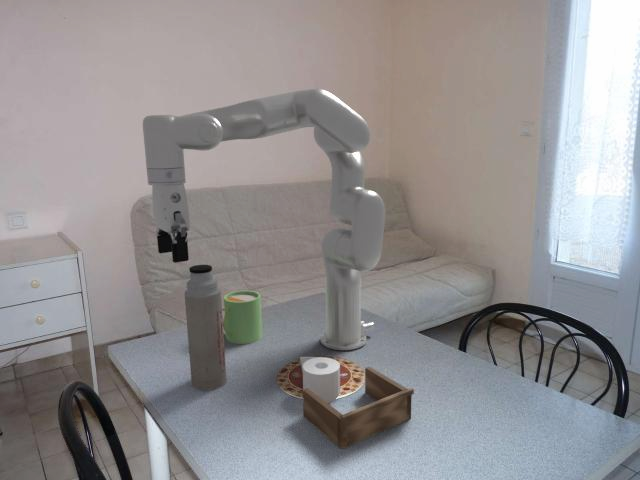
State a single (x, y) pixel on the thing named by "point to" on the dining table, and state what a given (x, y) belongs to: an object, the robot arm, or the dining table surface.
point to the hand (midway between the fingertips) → (173, 256)
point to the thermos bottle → (205, 329)
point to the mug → (242, 317)
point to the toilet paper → (321, 377)
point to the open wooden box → (361, 411)
